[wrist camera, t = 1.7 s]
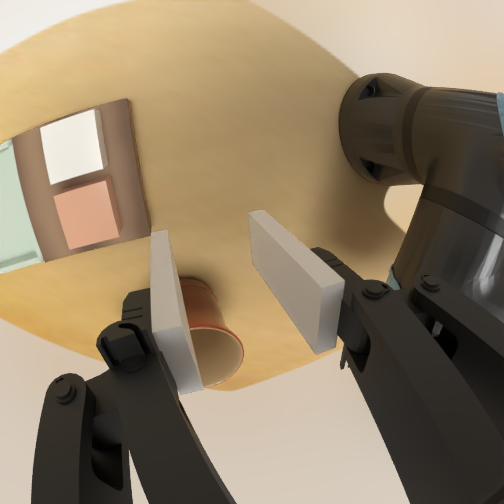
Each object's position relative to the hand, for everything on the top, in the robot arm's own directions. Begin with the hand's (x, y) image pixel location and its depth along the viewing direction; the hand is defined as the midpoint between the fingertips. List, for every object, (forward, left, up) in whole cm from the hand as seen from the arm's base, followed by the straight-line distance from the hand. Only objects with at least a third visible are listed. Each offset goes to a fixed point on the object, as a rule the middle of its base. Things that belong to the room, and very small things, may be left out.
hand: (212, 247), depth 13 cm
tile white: (+9, -6, -14) cm, 17 cm away
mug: (+4, +14, -17) cm, 22 cm away
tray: (+21, -2, -17) cm, 27 cm away
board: (+10, -2, -17) cm, 20 cm away
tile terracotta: (+9, 0, -14) cm, 16 cm away
